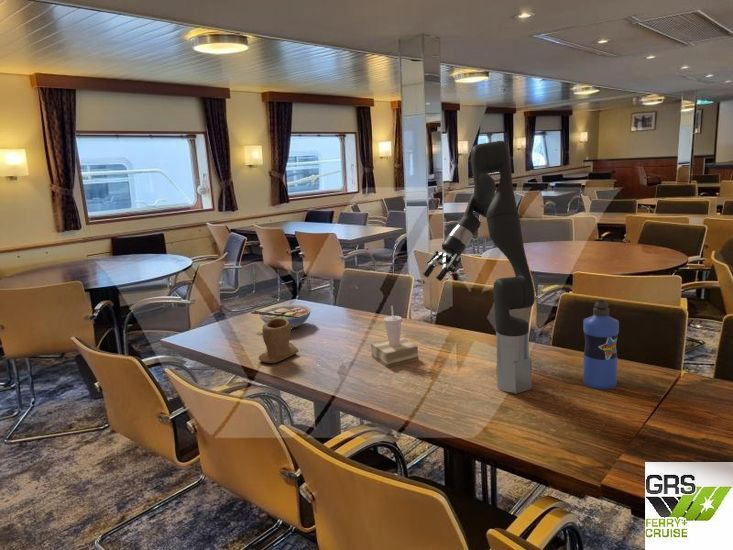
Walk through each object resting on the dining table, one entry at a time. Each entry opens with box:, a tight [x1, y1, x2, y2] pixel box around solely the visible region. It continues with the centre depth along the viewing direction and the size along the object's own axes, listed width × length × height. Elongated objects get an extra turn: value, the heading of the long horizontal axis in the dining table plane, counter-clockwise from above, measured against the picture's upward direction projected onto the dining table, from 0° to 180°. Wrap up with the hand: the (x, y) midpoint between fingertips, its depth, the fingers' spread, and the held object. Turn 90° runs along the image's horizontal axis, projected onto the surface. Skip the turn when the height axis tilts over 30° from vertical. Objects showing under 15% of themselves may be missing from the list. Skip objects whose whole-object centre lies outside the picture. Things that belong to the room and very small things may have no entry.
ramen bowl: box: [250, 303, 312, 329], centre depth 233 cm, size 25×23×8 cm
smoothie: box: [383, 305, 403, 347], centre depth 187 cm, size 6×6×14 cm
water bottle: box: [582, 299, 620, 390], centre depth 156 cm, size 9×9×25 cm
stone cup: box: [258, 318, 299, 364], centre depth 196 cm, size 15×12×15 cm
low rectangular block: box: [370, 336, 420, 369], centre depth 189 cm, size 12×12×5 cm
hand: (431, 277), depth 188 cm, fingers open, 8 cm apart
